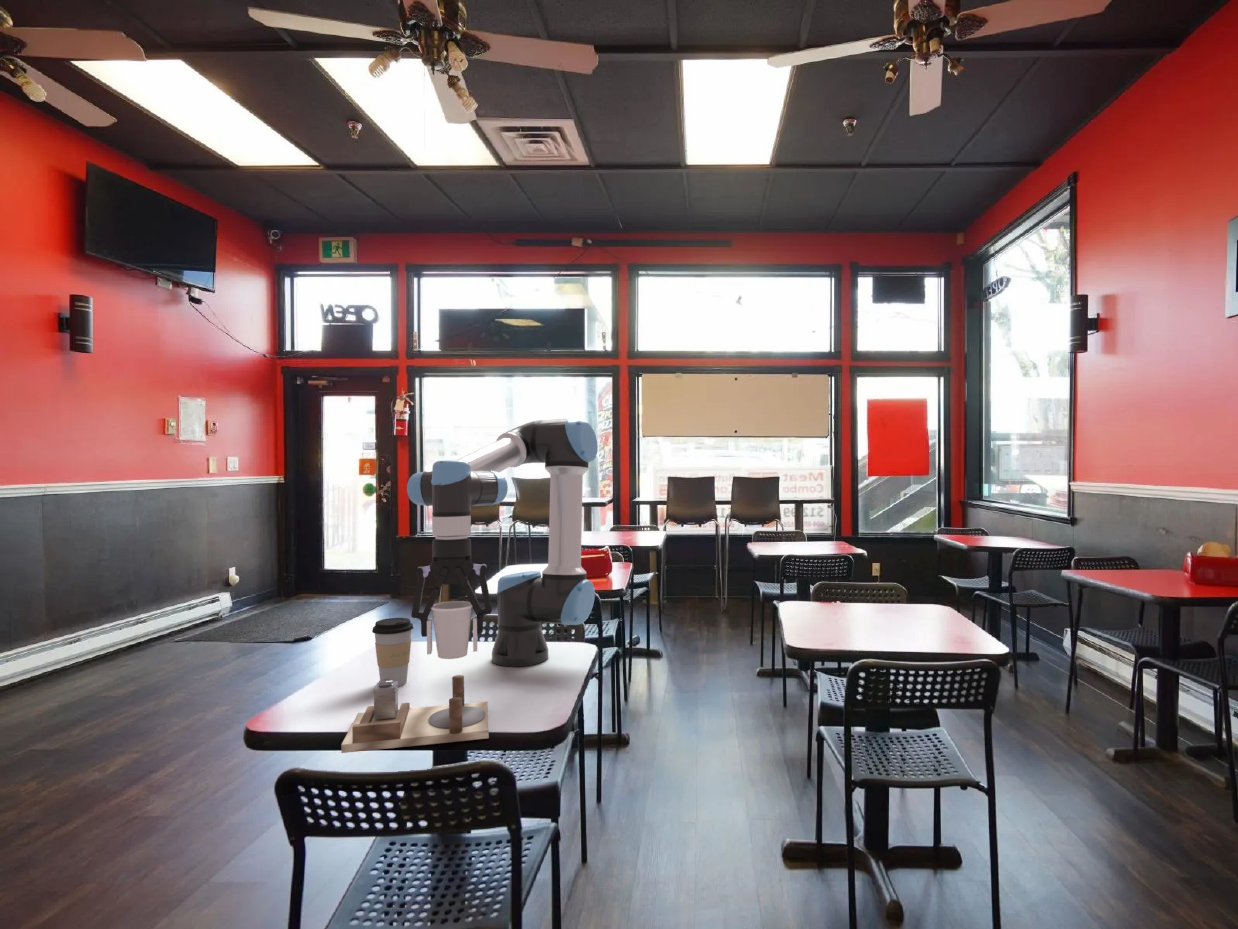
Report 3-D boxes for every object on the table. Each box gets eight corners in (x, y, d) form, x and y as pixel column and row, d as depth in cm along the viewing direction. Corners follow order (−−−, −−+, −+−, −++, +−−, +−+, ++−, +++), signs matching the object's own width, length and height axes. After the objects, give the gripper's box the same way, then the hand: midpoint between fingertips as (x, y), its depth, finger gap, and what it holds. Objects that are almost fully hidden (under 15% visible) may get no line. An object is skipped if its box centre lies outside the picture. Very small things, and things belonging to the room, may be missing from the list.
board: (487, 708, 137) (487, 672, 137) (488, 738, 121) (488, 698, 121) (358, 720, 131) (357, 683, 132) (341, 753, 115) (340, 711, 116)
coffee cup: (401, 691, 149) (400, 626, 149) (364, 689, 151) (363, 625, 151) (421, 678, 158) (420, 617, 159) (386, 676, 160) (386, 616, 160)
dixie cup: (434, 663, 123) (433, 610, 123) (428, 652, 130) (427, 603, 131) (477, 657, 126) (477, 606, 126) (469, 647, 134) (469, 599, 134)
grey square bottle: (398, 710, 132) (397, 677, 132) (395, 717, 128) (395, 683, 128) (377, 712, 131) (377, 678, 131) (374, 719, 127) (373, 685, 127)
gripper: (504, 534, 135) (505, 643, 134) (399, 537, 131) (400, 649, 130) (505, 537, 127) (506, 652, 127) (394, 540, 123) (394, 659, 123)
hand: (452, 651), depth 128 cm, fingers closed on dixie cup, 8 cm apart
